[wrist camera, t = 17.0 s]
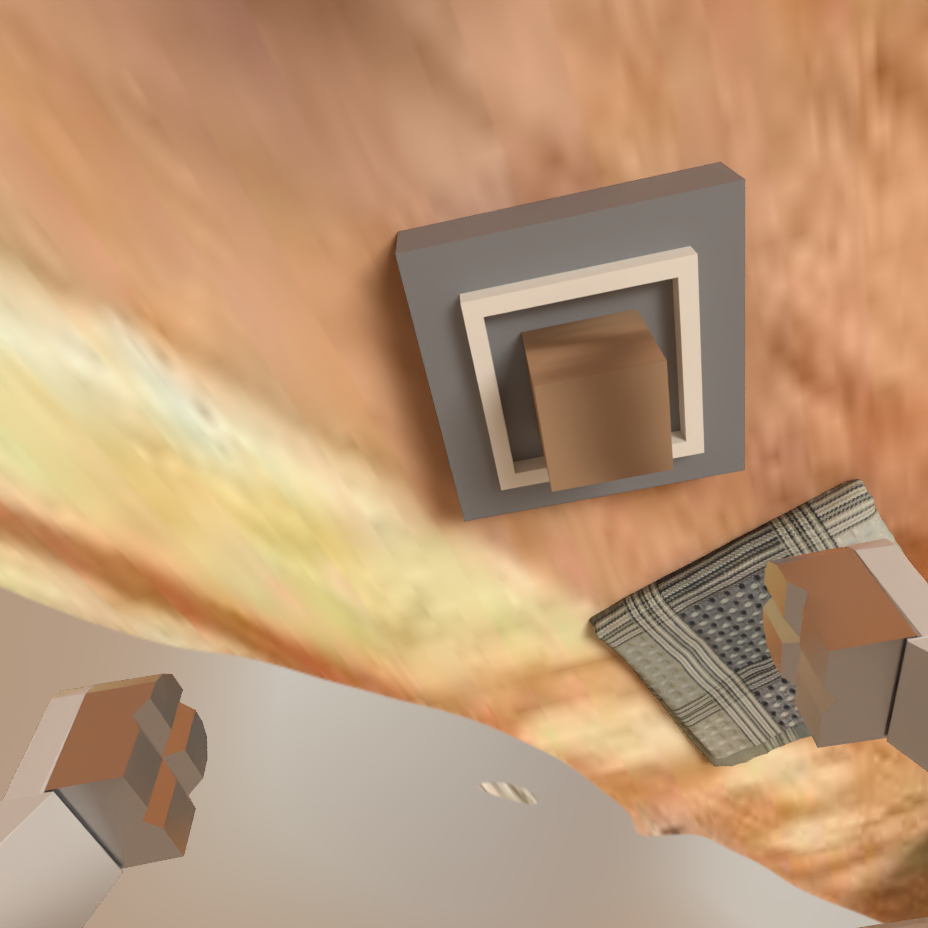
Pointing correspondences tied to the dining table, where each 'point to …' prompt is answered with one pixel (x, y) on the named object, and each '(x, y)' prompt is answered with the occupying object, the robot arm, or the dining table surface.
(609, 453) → the walnut block
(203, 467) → the dining table surface
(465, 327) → the plinth
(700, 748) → the dish towel
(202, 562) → the dining table surface
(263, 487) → the dining table surface
